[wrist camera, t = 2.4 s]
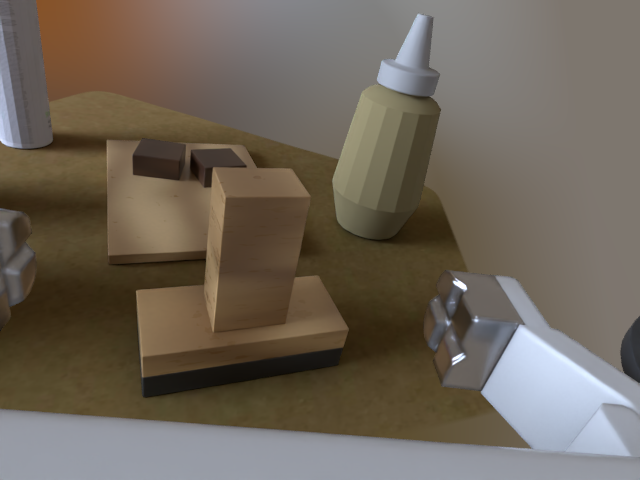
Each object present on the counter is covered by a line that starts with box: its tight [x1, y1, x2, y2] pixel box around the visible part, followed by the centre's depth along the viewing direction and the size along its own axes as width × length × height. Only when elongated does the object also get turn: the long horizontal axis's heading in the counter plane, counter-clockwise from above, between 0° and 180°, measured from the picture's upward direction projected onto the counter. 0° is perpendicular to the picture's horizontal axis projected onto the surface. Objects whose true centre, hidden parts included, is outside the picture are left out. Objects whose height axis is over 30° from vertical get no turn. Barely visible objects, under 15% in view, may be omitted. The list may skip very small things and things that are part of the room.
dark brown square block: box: [190, 148, 247, 188], centre depth 43 cm, size 4×4×2 cm
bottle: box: [0, 0, 53, 149], centre depth 39 cm, size 4×4×20 cm
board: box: [107, 140, 301, 264], centre depth 41 cm, size 14×20×1 cm
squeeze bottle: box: [332, 14, 441, 240], centre depth 38 cm, size 8×8×18 cm
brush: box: [136, 167, 349, 397], centre depth 24 cm, size 11×5×11 cm, turn 111°
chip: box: [132, 138, 186, 180], centre depth 42 cm, size 4×4×2 cm
